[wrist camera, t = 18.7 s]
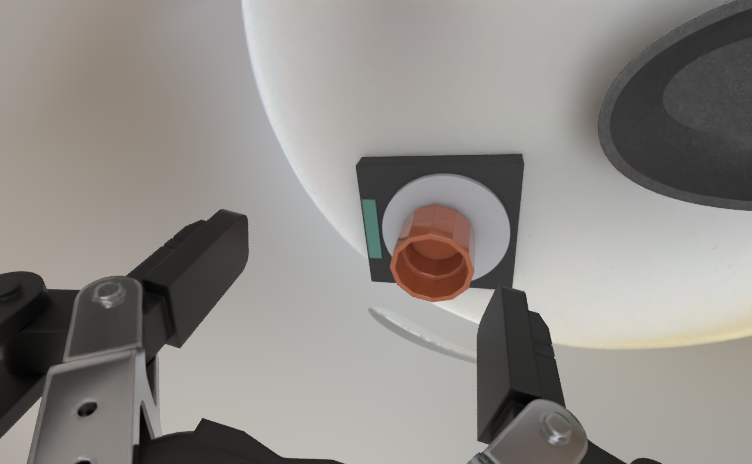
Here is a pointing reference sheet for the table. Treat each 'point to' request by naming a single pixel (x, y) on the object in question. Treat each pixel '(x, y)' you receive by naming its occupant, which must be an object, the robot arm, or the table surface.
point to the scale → (447, 189)
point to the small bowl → (434, 254)
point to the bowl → (688, 112)
